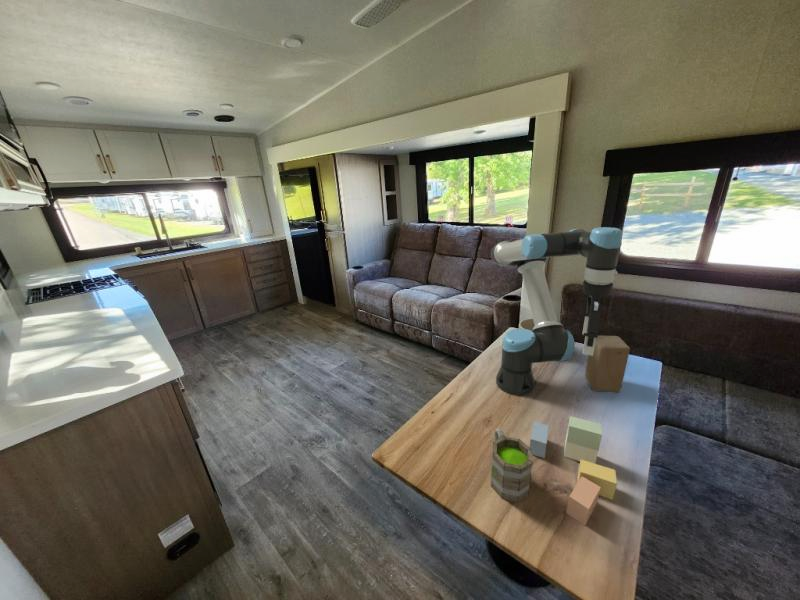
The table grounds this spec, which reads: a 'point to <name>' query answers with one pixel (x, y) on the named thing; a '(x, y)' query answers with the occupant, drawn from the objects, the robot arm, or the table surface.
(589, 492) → the terracotta brick
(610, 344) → the wooden block
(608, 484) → the ochre brick
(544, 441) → the slate brick
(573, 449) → the cream brick
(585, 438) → the sage brick
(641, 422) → the table surface
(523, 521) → the table surface
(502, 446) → the mug
